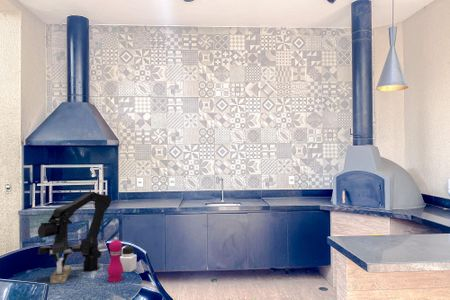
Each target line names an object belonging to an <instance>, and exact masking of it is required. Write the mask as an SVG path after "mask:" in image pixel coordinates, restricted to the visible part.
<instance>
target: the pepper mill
mask: <svg viewBox="0 0 450 300" xmlns="http://www.w3.org/2000/svg"><path fill="white" fill-rule="evenodd" d="M118 239H119V238H118V237H116V236H115V237H114V238H113V240H112V241H111V242H110V243H109V245H108V248H109V255H110V261H109V264H108V266H107V268H106V269H107V270H106V272H107V274H108V279H107V281H108V282H110V283H116V282H120V281H122V280H123V275H122V273H123V266H122V264H121V261H120V256H121V255H122V247H123V243H122V242H121V241H120V240H118Z"/></svg>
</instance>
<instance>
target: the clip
mask: <svg viewBox="0 0 450 300" xmlns="http://www.w3.org/2000/svg"><path fill="white" fill-rule="evenodd" d="M63 258H64V257H59V260H58V261H57V265H56V269H57V275H58V274H62V271H64V267H63Z"/></svg>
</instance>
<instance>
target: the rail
mask: <svg viewBox="0 0 450 300" xmlns="http://www.w3.org/2000/svg"><path fill="white" fill-rule="evenodd" d="M71 273H72V265H64V271H62V274H58V275H57V268H56V269H55V270H54V271H53V273H52V274H51V275H50V284H59V283H63V284H64V283H65V282H66V280H67V279H68V277H69V276H70V274H71Z"/></svg>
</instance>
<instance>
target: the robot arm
mask: <svg viewBox="0 0 450 300" xmlns="http://www.w3.org/2000/svg"><path fill="white" fill-rule="evenodd" d="M90 202H94V203H93V206H94V213H93V217H92V220H91V222H90V223H91V224H90V226H89V230H88V234H87V236H86V237H85V238H84V239H81V243H74V244H73V245H70V242H69V225H71V224H73V222H72V221H71V220H70V219H71V217H73V215H74V214H75V212H76V211H78V210H79V209H81V208H83V207H84V206H86V204H88V203H90ZM111 203H112V198H111V196H110V195H109V194H100V193H97V192H95V191H87V192H86V193H84V194H83V195H81V196H80V197H78V198H76V199H75V200H73V201H72V202H70V203H68V204H65V205H60V206H58V207H56V208H55V209H54V210H53V212H52V214H51V216H50V218H49V219H48V221H47V222H40V225H39V226H38V229H37V235H38V237H39V238H40V239H43V238H48V237H53V236H54V240H53V244H52V246H51V245H41V246H40V247H39V248H38V250H37V251H38V252H37V254H38V255H47V253H48V252H49V256H52V257H53V260H54V262H55V264H56V265H55V266H57V261H58V260H59V259H60V256H59V255H60V254H63V257H62V258H63V267H64V266H66V263H67V259H68V256H69V255H71V254H72V253H81V256H82V258H84V260H83V271H84V272H88V271H98V270H99V267H100V266H99V258H101V257H102V254H103V253H102V252H101V250H99V243H98V237H99V232H100V229H101V225H102V221H103V219H104V216H105V215H104V214H105V212H106V211H107V210H108V209H109V207H110V206H111Z"/></svg>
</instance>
